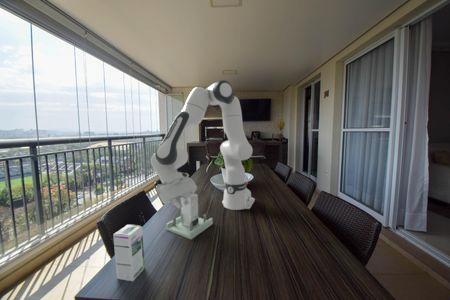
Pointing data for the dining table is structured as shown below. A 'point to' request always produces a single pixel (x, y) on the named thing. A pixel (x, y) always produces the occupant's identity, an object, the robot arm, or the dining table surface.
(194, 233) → the pin tray
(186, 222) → the white carton
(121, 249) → the syrup box
